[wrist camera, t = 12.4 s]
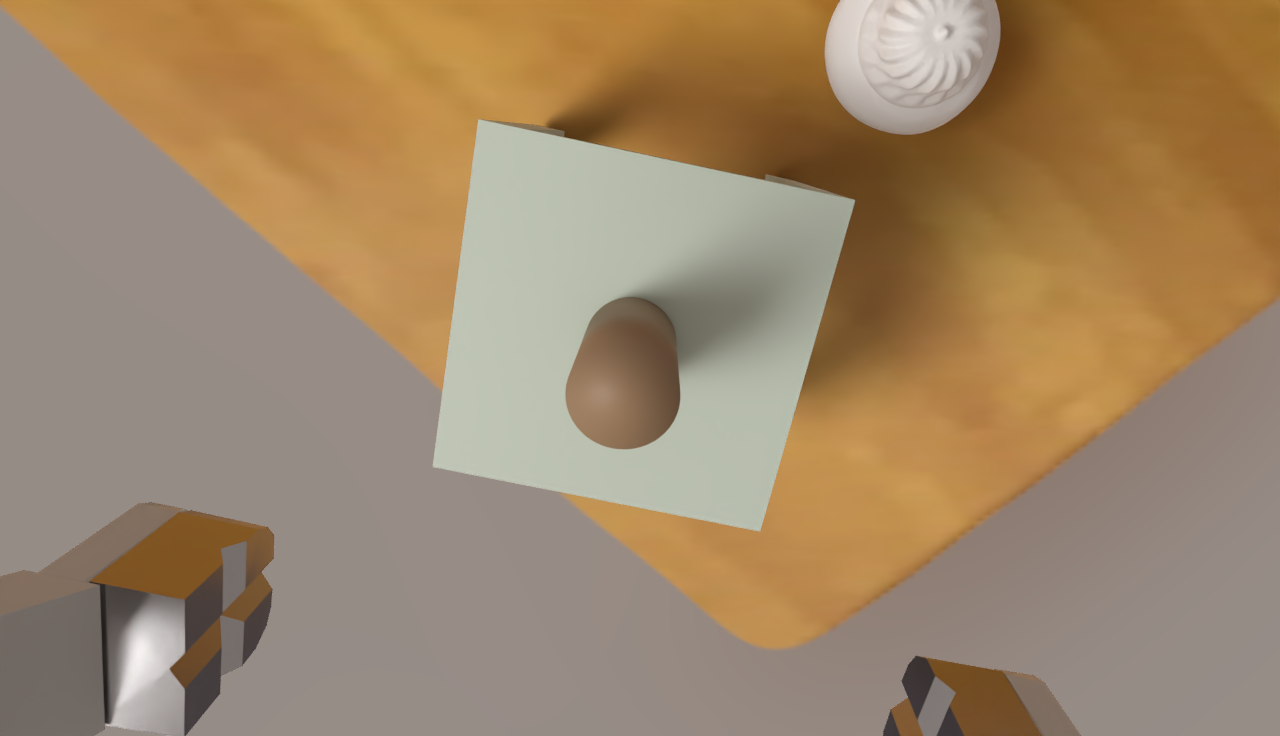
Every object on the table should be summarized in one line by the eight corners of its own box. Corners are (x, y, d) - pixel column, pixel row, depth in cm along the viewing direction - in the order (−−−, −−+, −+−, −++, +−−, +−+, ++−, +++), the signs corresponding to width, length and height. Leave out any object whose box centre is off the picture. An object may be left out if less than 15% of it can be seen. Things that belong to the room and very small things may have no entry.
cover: (793, 180, 31) (911, 218, 16) (731, 418, 34) (784, 626, 20) (536, 124, 31) (424, 113, 16) (498, 371, 34) (376, 547, 19)
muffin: (793, -4, 29) (832, -46, 23) (948, -50, 29) (1035, -107, 22) (822, 152, 31) (867, 156, 24) (969, 112, 31) (1056, 105, 24)
